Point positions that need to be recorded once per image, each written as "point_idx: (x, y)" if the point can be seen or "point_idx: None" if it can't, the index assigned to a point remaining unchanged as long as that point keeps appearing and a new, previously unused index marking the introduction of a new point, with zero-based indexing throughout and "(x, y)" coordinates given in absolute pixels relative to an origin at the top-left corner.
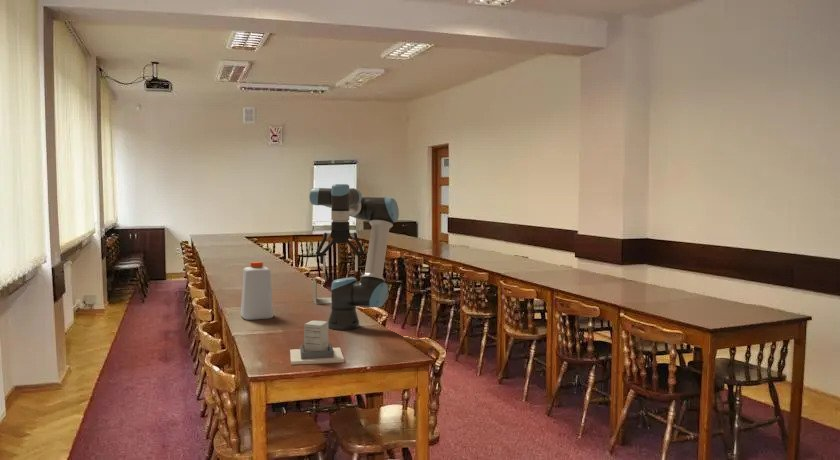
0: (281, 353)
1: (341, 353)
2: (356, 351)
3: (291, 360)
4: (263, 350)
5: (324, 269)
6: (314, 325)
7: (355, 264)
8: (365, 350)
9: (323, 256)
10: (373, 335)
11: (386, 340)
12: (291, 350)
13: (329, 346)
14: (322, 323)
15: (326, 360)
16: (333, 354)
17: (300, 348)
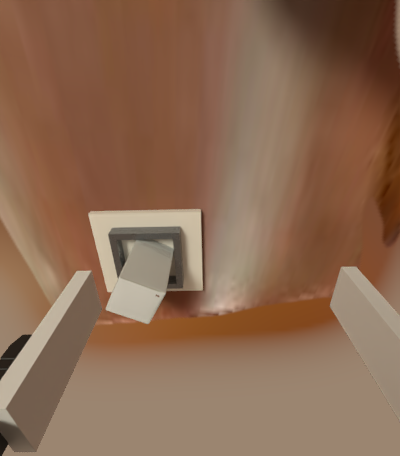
0: (73, 216)
1: (200, 256)
2: (236, 221)
3: (107, 286)
4: (23, 185)
5: (89, 325)
6: (132, 318)
7: (366, 326)
8: (257, 216)
9: (10, 443)
10: (325, 44)
11: (339, 123)
12: (93, 222)
13: (175, 255)
14: (151, 310)
15: (170, 290)
16: (183, 284)
17: (114, 262)
